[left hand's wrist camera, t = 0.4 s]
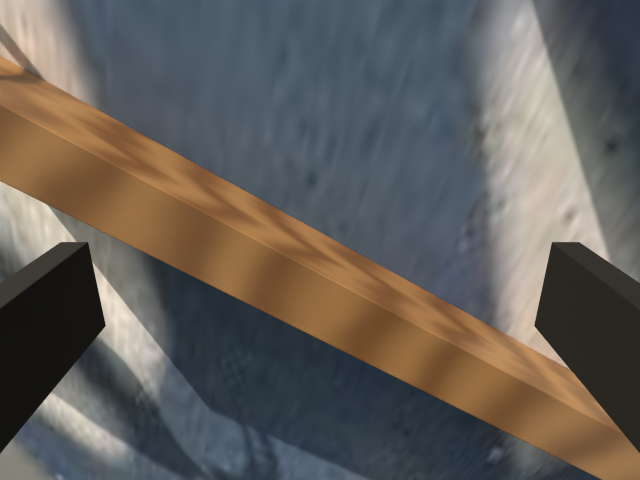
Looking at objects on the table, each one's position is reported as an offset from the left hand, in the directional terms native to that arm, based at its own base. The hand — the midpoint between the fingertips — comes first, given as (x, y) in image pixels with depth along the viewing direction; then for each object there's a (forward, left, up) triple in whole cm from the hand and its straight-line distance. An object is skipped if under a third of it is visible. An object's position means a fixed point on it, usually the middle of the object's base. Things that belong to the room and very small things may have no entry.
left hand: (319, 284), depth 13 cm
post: (+12, +7, -26) cm, 29 cm away
